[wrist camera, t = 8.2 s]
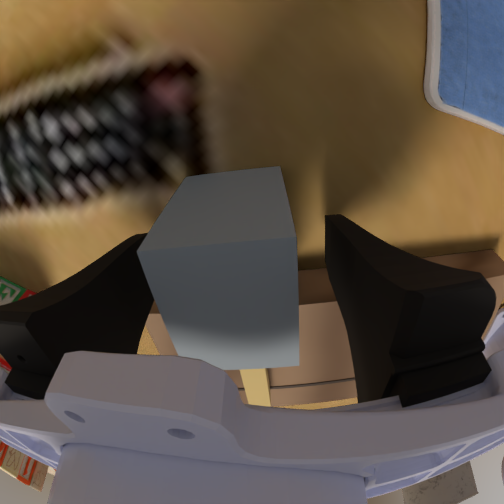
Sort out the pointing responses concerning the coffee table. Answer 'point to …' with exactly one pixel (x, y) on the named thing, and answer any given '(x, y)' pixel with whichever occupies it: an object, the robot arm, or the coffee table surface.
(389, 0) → the coffee table surface
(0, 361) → the stack of blocks
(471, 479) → the concrete cylinder
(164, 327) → the board
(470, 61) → the tablet computer
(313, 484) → the robot arm
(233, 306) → the toy hammer
